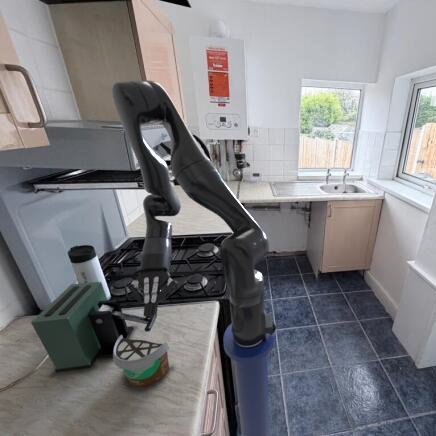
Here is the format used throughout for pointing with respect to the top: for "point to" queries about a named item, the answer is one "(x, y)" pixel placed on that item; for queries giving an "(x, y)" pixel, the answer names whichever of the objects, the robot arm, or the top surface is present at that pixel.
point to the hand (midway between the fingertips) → (149, 318)
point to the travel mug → (87, 266)
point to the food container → (141, 360)
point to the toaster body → (71, 327)
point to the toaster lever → (129, 317)
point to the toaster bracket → (108, 328)
